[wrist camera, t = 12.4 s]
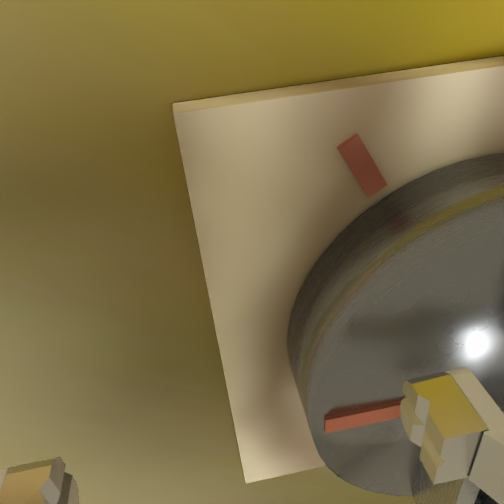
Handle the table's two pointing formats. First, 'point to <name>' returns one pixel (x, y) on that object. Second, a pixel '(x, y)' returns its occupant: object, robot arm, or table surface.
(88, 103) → the table surface
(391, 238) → the grey disc with tab
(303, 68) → the table surface
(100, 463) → the table surface
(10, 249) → the table surface
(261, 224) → the board
